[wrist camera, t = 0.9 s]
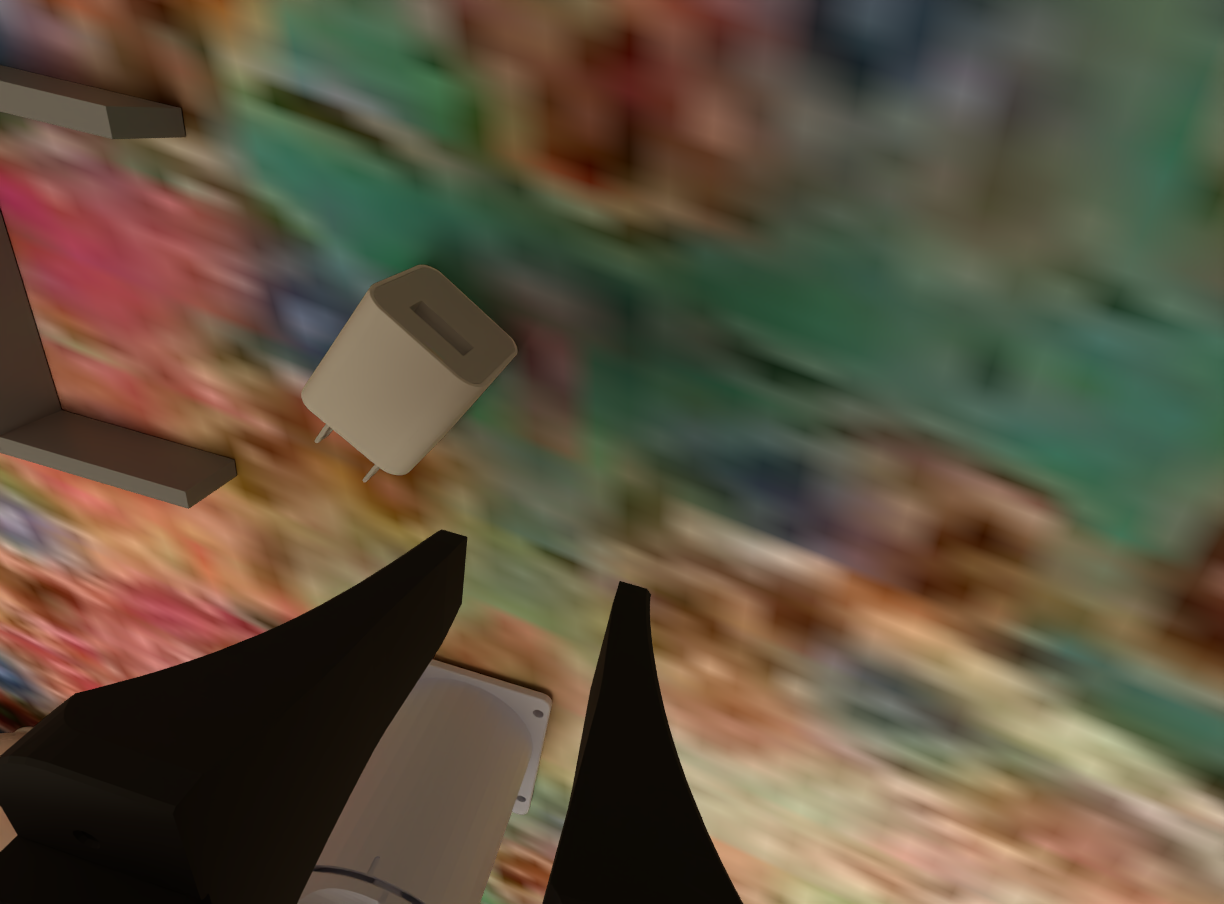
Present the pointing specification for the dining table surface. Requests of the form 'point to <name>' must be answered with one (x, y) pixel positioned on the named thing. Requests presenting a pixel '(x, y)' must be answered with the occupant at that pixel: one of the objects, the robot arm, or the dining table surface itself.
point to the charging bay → (12, 352)
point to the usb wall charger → (406, 368)
